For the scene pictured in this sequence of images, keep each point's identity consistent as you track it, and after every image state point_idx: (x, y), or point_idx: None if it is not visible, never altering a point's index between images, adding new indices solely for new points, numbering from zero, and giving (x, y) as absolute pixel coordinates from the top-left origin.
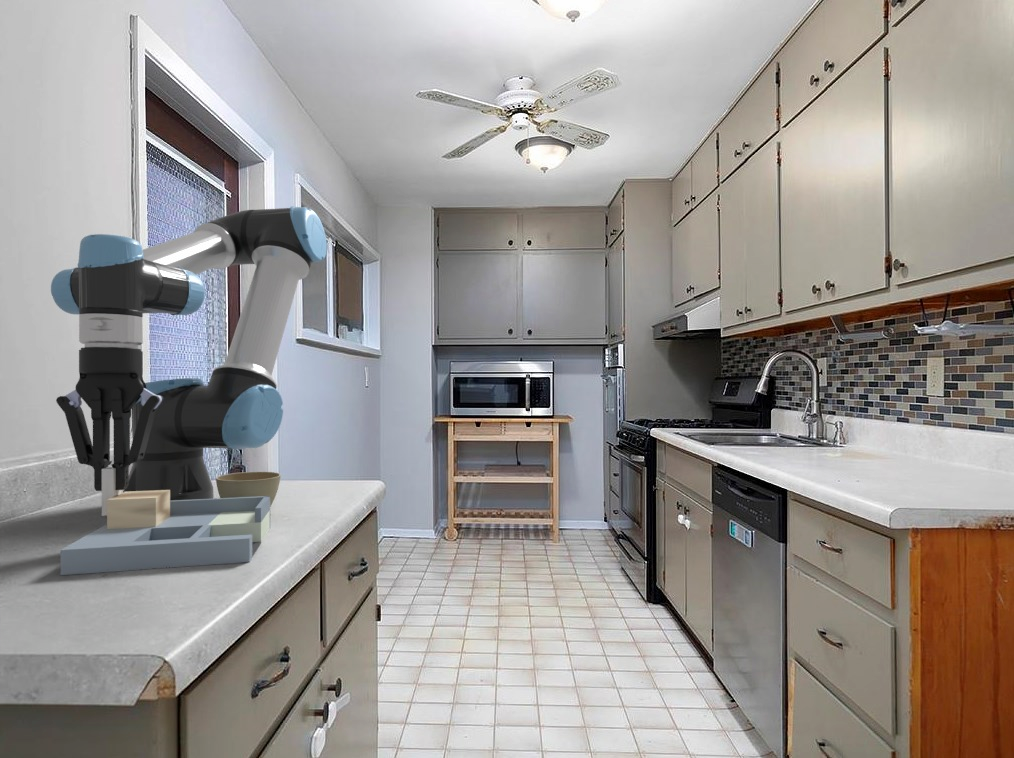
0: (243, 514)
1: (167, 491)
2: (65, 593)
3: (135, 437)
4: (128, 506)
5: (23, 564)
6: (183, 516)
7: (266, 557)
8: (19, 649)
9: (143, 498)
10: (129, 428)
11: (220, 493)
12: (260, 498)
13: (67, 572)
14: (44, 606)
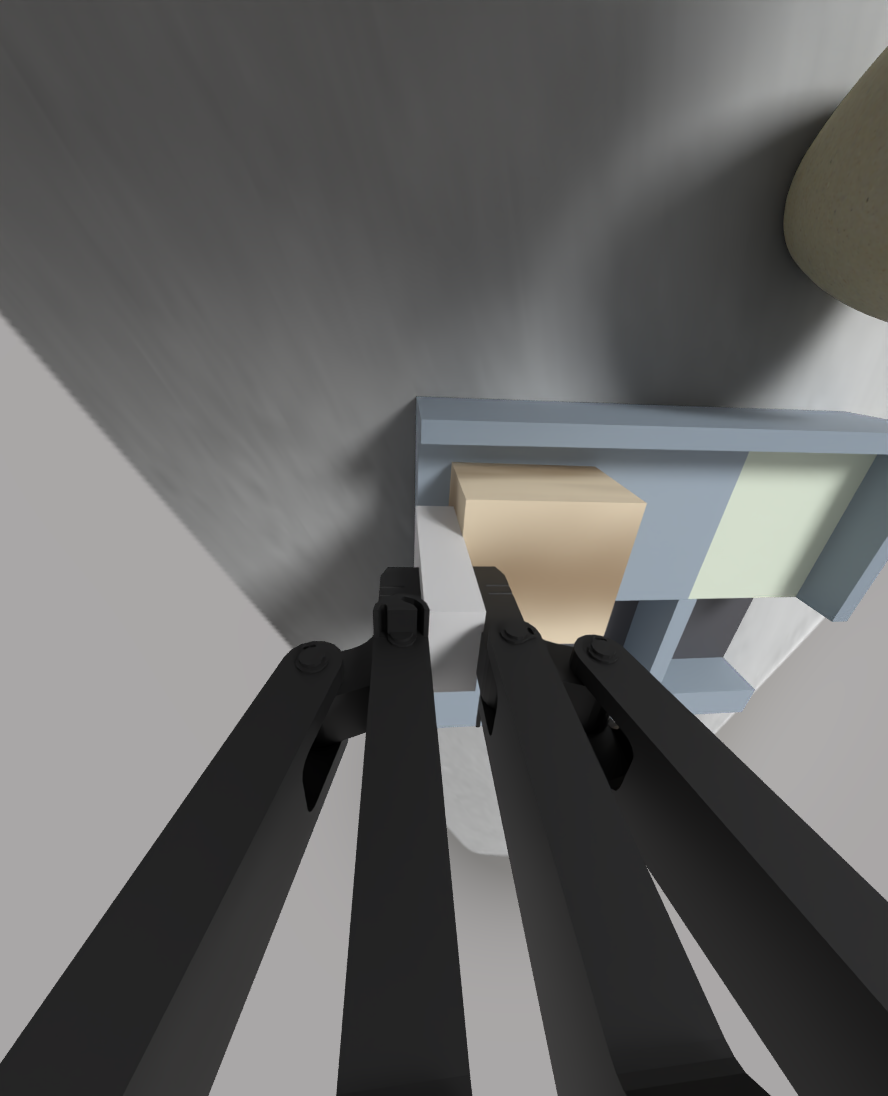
0: (805, 490)
1: (636, 533)
2: (458, 752)
3: (658, 864)
4: None
5: (294, 616)
6: (635, 472)
7: (742, 657)
8: (476, 849)
9: (563, 642)
10: (650, 886)
11: (846, 244)
12: None
13: None
14: (451, 782)
